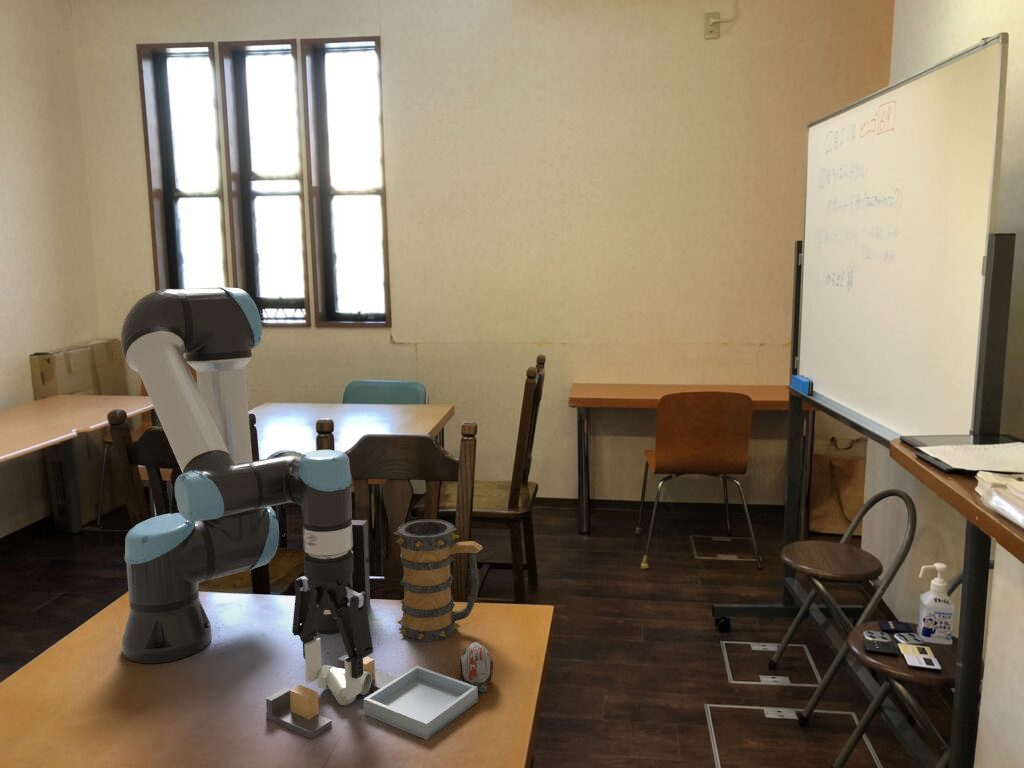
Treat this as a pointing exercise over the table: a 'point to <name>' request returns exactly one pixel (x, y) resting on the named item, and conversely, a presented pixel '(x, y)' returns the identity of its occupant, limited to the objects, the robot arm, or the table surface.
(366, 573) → the light fixture
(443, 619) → the mug
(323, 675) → the pipe fitting
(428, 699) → the parts tray
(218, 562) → the robot arm
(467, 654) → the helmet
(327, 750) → the table surface
